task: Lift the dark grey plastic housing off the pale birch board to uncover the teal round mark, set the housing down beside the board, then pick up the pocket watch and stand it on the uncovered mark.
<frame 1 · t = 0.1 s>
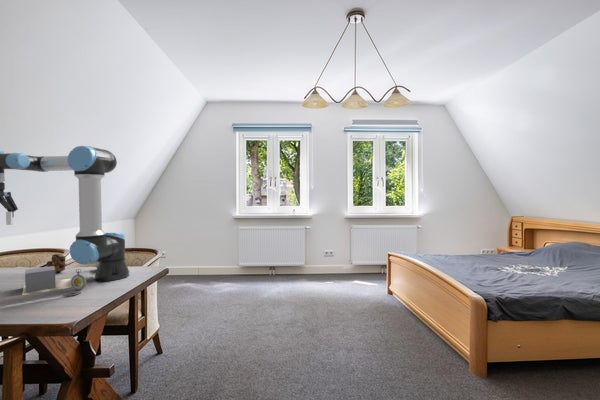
layout board: (55, 287, 140), on the table
pocket watch: (74, 294, 131), on the table
housing: (40, 287, 137), point 1 cm above the table, touching layout board
teacup: (105, 270, 172), on the table
wooden carving: (56, 272, 169), on the table
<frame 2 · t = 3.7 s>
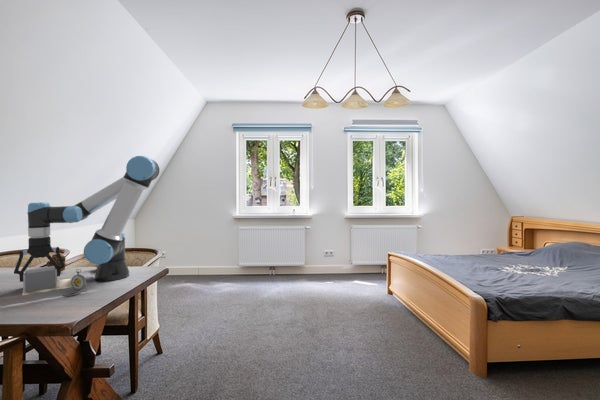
hand: (40, 286, 137), 2 cm above the table, tool pointing down, fingers closed on housing, 10 cm apart
housing: (40, 287, 137), point 1 cm above the table, touching gripper, layout board
everything else where it was.
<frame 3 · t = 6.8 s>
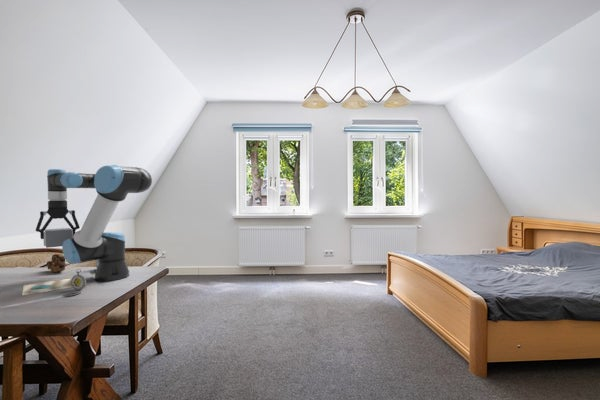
hand: (58, 244, 154), 18 cm above the table, tool pointing down, fingers closed on housing, 10 cm apart
housing: (58, 245, 154), point 17 cm above the table, touching gripper
everything else where it was.
when the fingers open (2 cm above the table, at t = 10.0 s): housing drops 2 cm, on the table.
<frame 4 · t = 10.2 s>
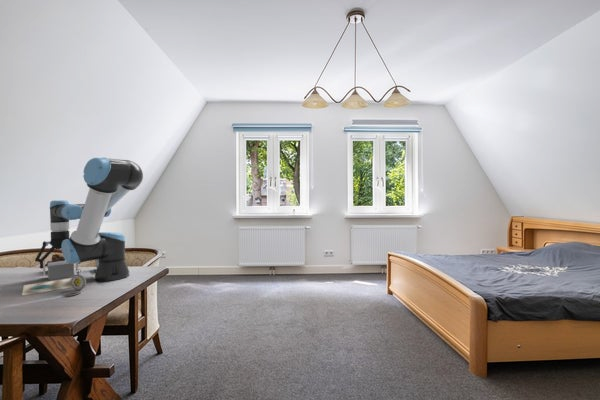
hand: (61, 272, 155), 3 cm above the table, tool pointing down, fingers open, 12 cm apart
housing: (61, 278, 155), on the table
everything else where it was.
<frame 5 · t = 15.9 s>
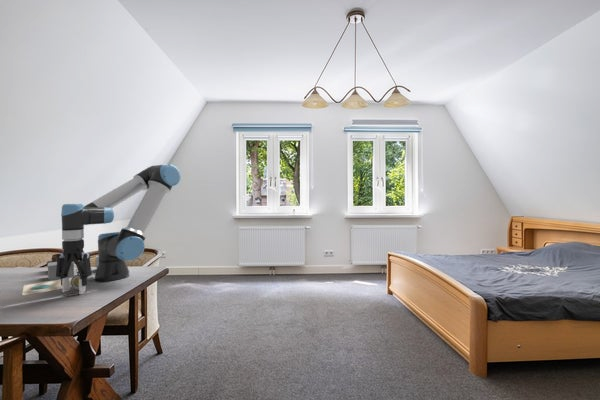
hand: (74, 293, 131), 0 cm above the table, tool pointing down, fingers open, 7 cm apart
pocket watch: (74, 294, 131), on the table, touching gripper
everything else where it was.
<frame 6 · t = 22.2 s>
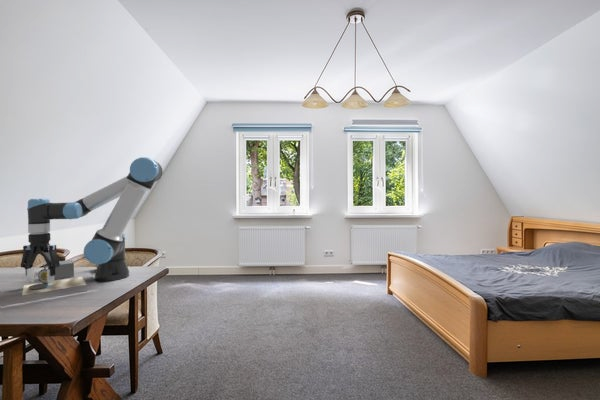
hand: (40, 282, 137), 3 cm above the table, tool pointing down, fingers open, 9 cm apart
pocket watch: (41, 287, 137), point 1 cm above the table, touching layout board
everything else where it was.
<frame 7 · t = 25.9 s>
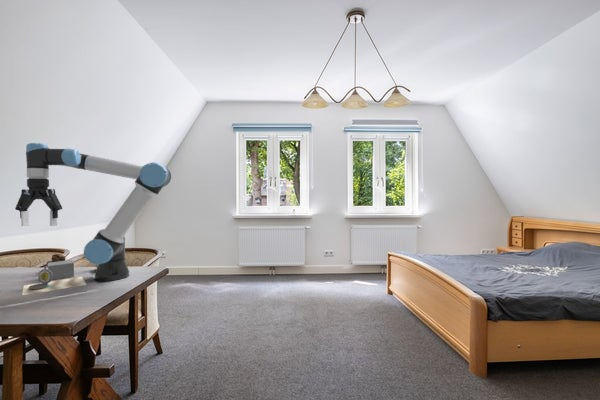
hand: (39, 225, 136), 29 cm above the table, tool pointing down, fingers open, 13 cm apart
nothing on the table moved.
at the end: pocket watch 0.2 cm from the target spot on the layout board, point 0.9 cm above the layout board's base; pocket watch tilted 0°; housing moved 19.4 cm from its start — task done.
